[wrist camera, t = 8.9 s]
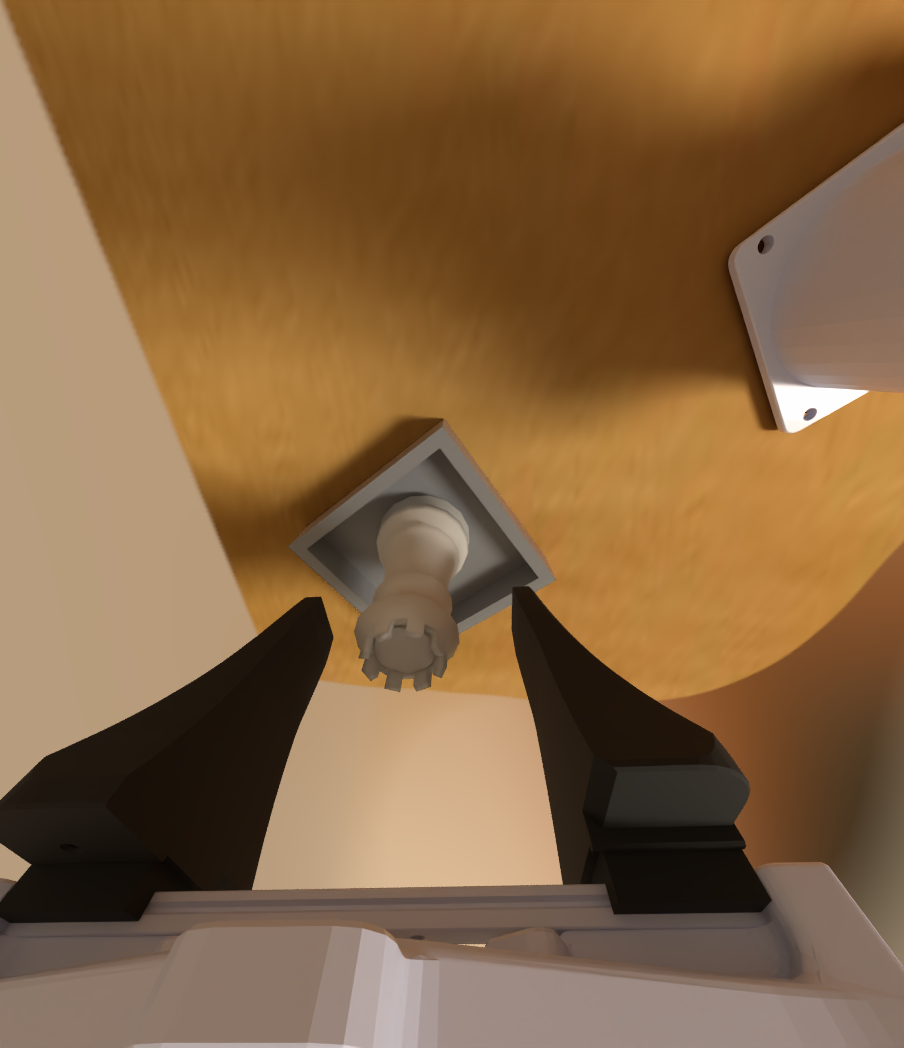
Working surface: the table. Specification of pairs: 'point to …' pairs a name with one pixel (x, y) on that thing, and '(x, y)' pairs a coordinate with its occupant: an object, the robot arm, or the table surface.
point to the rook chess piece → (414, 593)
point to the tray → (446, 473)
